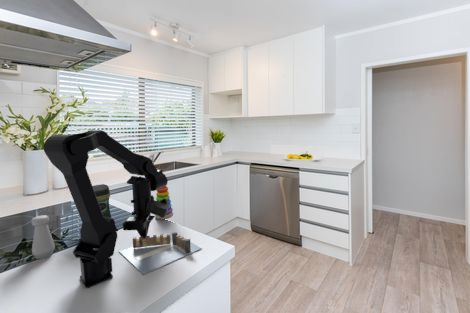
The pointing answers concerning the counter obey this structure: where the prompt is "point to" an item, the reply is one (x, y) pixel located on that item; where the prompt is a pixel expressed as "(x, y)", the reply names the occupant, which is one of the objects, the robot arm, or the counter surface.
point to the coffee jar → (103, 198)
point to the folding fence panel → (151, 241)
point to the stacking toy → (165, 194)
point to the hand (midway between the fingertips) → (144, 239)
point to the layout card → (155, 255)
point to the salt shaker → (42, 238)
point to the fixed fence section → (181, 242)
